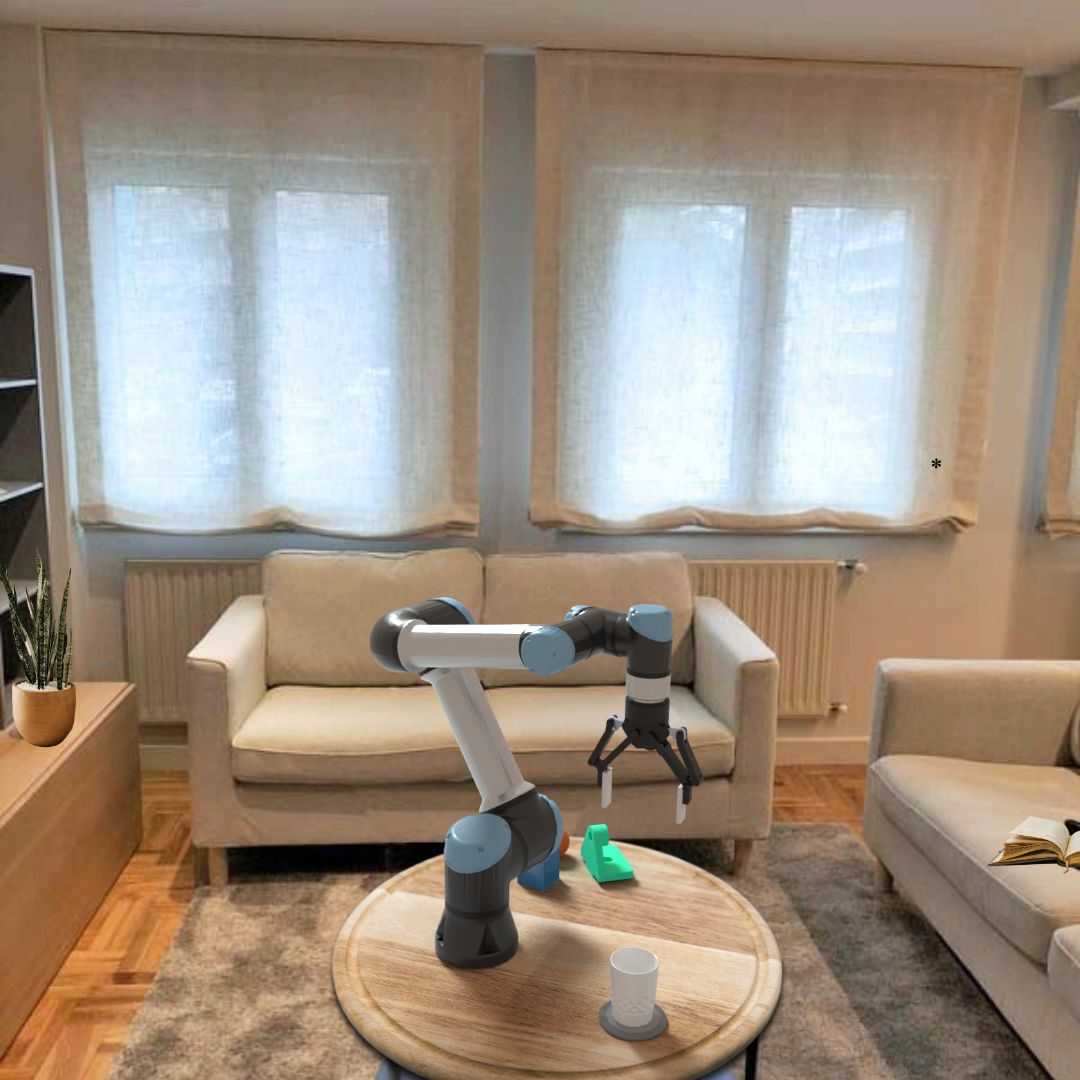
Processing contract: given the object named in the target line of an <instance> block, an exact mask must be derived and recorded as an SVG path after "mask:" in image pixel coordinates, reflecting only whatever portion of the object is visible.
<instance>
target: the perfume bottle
mask: <svg viewBox="0 0 1080 1080" xmlns="http://www.w3.org/2000/svg"><path fill="white" fill-rule="evenodd" d="M560 859H561V856H560V850H559V849H557V850H556V851H555V852H554V853H553V854H551V855H550V856H549V857H548V858H547V859H546V860H545V861H544V862H541V863H538V864H536V865H535V866H533V867H532V868H530V869H529V870H527V871H526V872H524V873H523V874H521V875H520V876H518V877H517V879H516V880H517V881H516V883H517V884H520V885H523V886H526V887H529V888H532V889H534V890H538V891H540V892H545V891H546V890H547V889H548V888H549V887H551V886H552V885H554V884H555V883H556V882H557V881H559V880H560V870H561V868H560V867H561V861H560Z"/></svg>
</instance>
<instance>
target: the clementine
mask: <svg viewBox="0 0 1080 1080" xmlns="http://www.w3.org/2000/svg"><path fill="white" fill-rule="evenodd" d="M569 848H570V836H569V833H568V832H567V830H566V829H565V828H564V834H563V838H562V841H561V844H560V846H559V847H558V849H559V850H560V857H562V856H564V855H565V854H566V852H567V851H568V850H569Z"/></svg>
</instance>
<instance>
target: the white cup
mask: <svg viewBox="0 0 1080 1080" xmlns="http://www.w3.org/2000/svg"><path fill="white" fill-rule="evenodd" d="M609 962H610V963H609V965H610V967H609V968H610V969H609V970H610V971H609V974H610V976H609V977H610V998H611V999H610V1000H612V1015H613V1018H614V1020H616V1021H617V1022H618V1023H620V1024H621V1025H624V1026H628V1027H641V1026H644V1025H647V1024H648V1023H649V1022H650V1021H652V1017H653V1010H654V1004H656V995H657V989H658V987H657V986H658V977H659V976H658V975H659V967H660V960H659V957H658V956H657V955H656V954H655V953H654V952H652V951H650V950H649V949H645V948H644V947H638V946H628V947H627V946H626V947H621V948H619V949H616V950H615V951H614V952H612V954H611V956H610V957H609Z"/></svg>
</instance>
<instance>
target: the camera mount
mask: <svg viewBox="0 0 1080 1080" xmlns="http://www.w3.org/2000/svg"><path fill="white" fill-rule="evenodd" d="M608 829H609V828H608V826H607V825H606V824H605V823H601V824H593V825H588V826H587V829H586V832H585V835H584V837H583V840H582V843H581V846H580V855H581V857H582V859H583V861H584V862H585V868H586V869H587V870H588V872H589V874H590V875H591V877H592V878H595V879H596V880H597V882H598V883H602V882H603V883H605V882H610V881H620V880H628V879H632V878H633V876H634V867H632V865H631V864H630V862H629V861H628V860H627V858H626V856H625V855H624V854H623V853H622V852H621V850H620V849H619V848H618V846H617V845H616V844H609V842H610V833H609V830H608Z"/></svg>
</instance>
